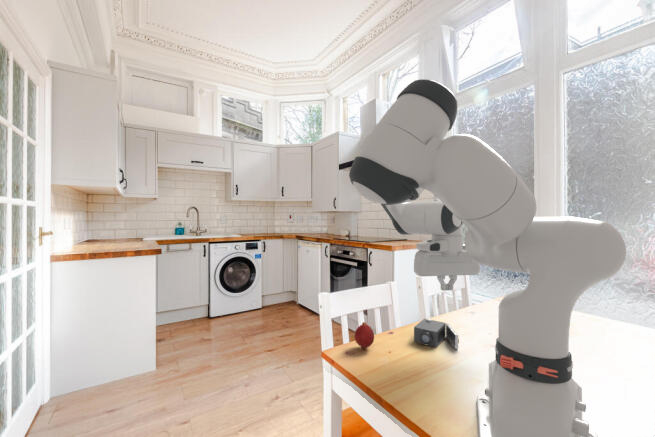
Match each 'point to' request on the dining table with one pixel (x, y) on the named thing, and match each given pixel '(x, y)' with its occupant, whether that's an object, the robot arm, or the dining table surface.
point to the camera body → (430, 332)
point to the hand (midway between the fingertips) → (446, 290)
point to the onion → (364, 335)
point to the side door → (452, 336)
